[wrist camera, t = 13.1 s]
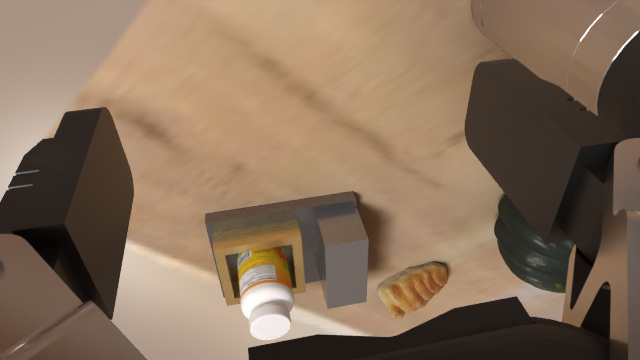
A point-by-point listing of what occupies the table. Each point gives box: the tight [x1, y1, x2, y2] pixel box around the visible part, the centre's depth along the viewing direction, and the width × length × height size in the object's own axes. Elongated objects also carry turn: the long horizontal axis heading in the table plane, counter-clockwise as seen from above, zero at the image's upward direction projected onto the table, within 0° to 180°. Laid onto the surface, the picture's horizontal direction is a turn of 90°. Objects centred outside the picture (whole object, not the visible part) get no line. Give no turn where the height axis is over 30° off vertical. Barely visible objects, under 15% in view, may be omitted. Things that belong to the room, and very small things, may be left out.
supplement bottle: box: [237, 246, 294, 340], centre depth 50 cm, size 5×5×10 cm
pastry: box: [377, 262, 448, 319], centre depth 63 cm, size 9×7×4 cm
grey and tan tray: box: [205, 191, 369, 309], centre depth 53 cm, size 16×12×6 cm
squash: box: [494, 196, 574, 293], centre depth 54 cm, size 14×15×15 cm
